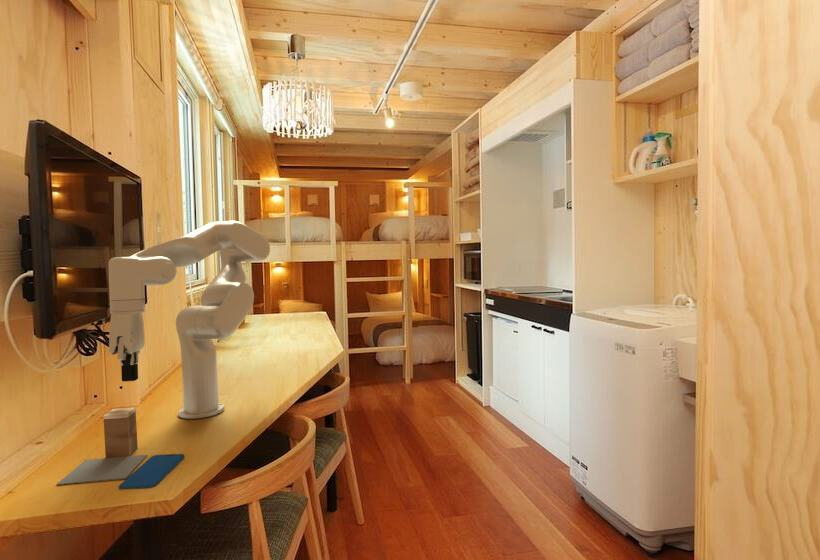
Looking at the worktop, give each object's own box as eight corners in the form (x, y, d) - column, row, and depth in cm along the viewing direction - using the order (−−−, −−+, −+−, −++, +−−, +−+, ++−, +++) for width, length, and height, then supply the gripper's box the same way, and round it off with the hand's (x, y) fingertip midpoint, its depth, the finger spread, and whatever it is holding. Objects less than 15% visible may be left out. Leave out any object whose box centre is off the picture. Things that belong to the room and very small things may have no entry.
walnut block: (115, 450, 116) (112, 409, 116) (137, 448, 117) (135, 407, 116) (105, 458, 111) (103, 415, 111) (129, 456, 112) (127, 414, 111)
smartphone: (116, 487, 96) (152, 455, 111) (116, 492, 96) (153, 459, 111) (154, 486, 96) (185, 453, 111) (154, 490, 96) (186, 457, 111)
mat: (85, 461, 110) (85, 459, 110) (147, 455, 112) (147, 454, 112) (56, 485, 98) (56, 484, 98) (126, 479, 100) (126, 477, 100)
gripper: (123, 304, 127) (125, 374, 127) (97, 309, 112) (99, 388, 113) (154, 304, 128) (156, 373, 129) (132, 308, 113) (134, 386, 114)
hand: (130, 380), depth 121 cm, fingers closed
